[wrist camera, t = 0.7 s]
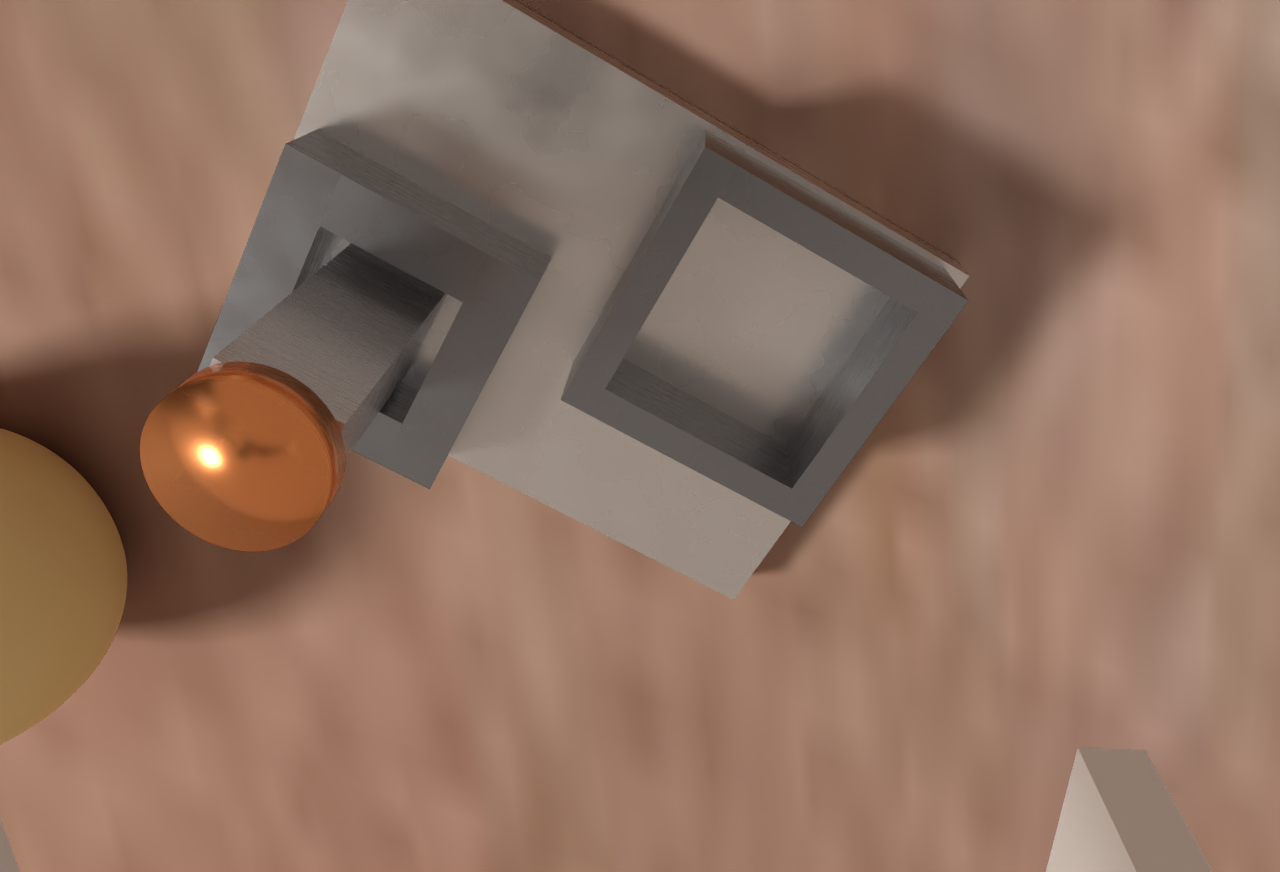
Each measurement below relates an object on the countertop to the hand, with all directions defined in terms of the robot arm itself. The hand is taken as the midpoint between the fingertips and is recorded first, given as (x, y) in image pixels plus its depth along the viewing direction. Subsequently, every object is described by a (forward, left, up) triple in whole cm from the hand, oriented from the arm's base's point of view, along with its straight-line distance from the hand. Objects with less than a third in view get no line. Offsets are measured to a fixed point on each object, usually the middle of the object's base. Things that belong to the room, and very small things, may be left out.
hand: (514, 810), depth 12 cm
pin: (-7, -5, -22) cm, 24 cm away
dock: (-1, -2, -24) cm, 24 cm away
